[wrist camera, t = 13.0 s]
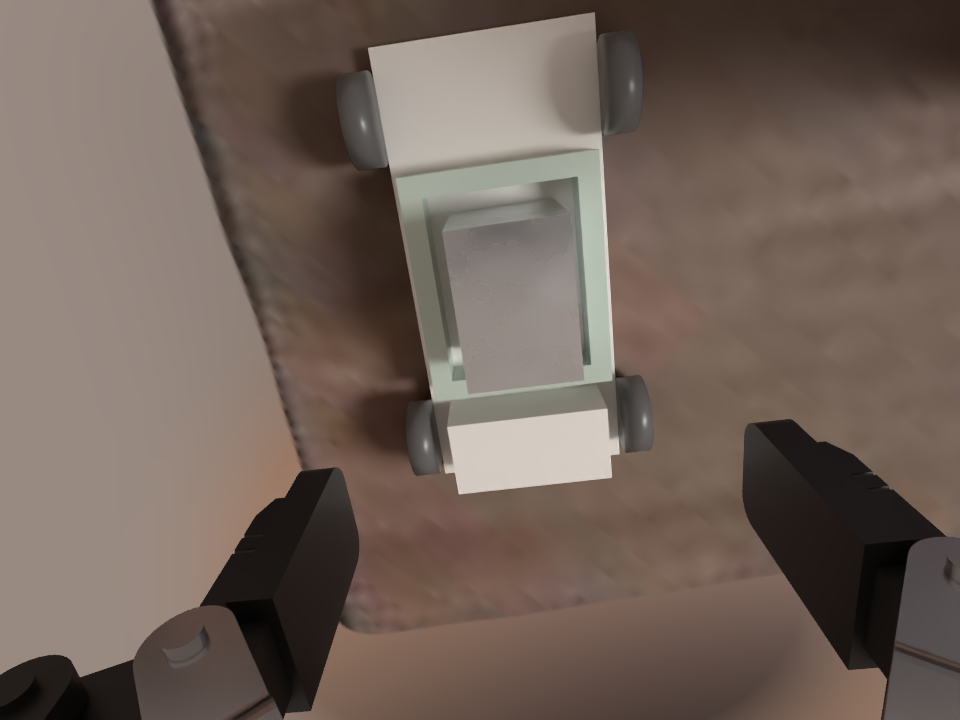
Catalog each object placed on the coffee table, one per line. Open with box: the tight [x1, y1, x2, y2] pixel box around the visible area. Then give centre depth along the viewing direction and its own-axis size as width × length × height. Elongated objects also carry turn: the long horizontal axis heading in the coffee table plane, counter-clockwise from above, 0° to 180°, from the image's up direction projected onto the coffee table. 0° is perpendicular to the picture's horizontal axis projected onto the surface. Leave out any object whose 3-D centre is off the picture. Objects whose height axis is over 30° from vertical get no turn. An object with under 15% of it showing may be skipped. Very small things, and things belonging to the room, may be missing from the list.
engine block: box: [442, 198, 584, 394], centre depth 26 cm, size 5×7×6 cm
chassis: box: [336, 12, 654, 494], centre depth 28 cm, size 12×22×4 cm, turn 8°
